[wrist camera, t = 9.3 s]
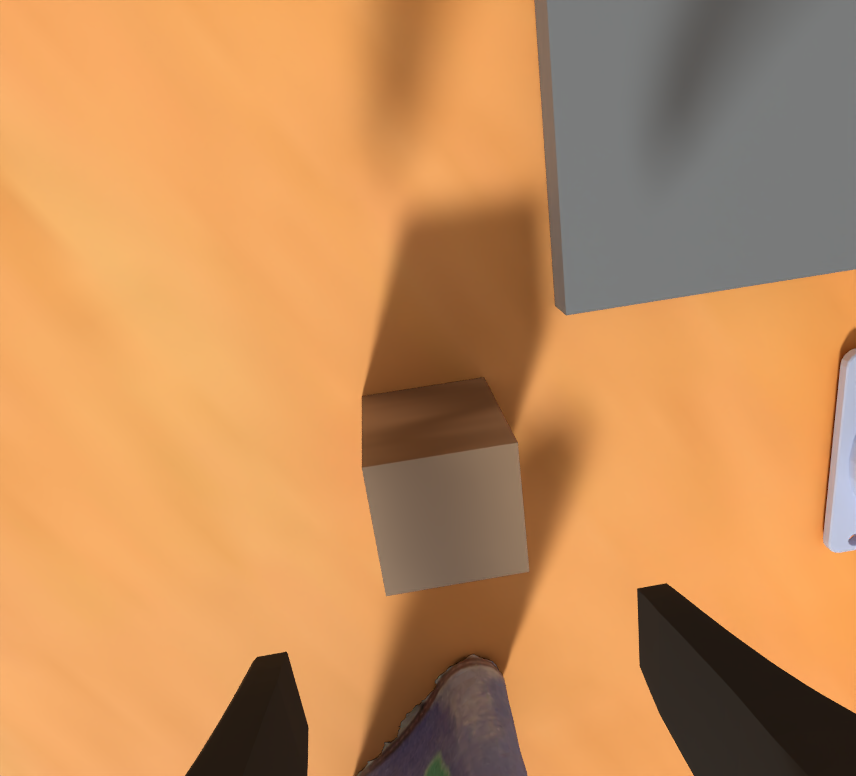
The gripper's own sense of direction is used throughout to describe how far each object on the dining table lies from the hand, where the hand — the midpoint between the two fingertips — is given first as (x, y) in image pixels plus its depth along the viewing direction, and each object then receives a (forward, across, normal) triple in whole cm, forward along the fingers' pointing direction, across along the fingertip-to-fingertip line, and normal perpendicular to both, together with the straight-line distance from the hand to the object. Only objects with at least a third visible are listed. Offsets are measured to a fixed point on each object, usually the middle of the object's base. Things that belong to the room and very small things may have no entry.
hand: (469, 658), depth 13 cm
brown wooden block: (+10, 0, 0) cm, 10 cm away
